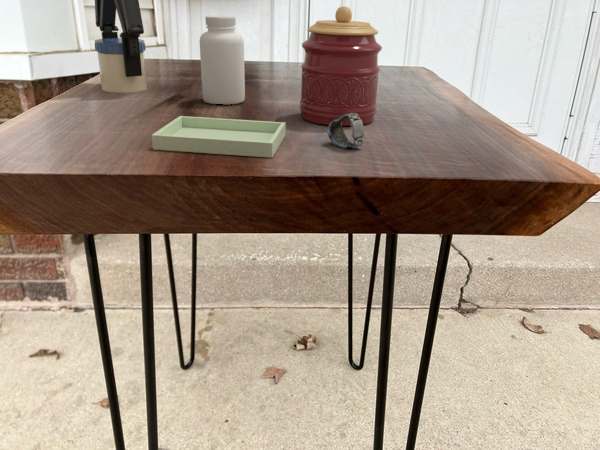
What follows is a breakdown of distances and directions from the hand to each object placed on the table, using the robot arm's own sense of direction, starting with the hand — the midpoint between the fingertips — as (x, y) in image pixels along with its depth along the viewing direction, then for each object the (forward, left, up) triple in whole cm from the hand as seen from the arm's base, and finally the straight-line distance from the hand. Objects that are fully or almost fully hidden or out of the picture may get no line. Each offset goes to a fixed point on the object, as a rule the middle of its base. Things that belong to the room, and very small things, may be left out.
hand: (123, 72), depth 97 cm
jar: (0, 0, -5) cm, 5 cm away
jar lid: (0, 0, +5) cm, 5 cm away
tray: (+25, -24, -5) cm, 35 cm away
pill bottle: (+18, +3, -5) cm, 19 cm away
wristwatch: (+42, -22, -5) cm, 48 cm away
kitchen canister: (+40, -5, -5) cm, 41 cm away
